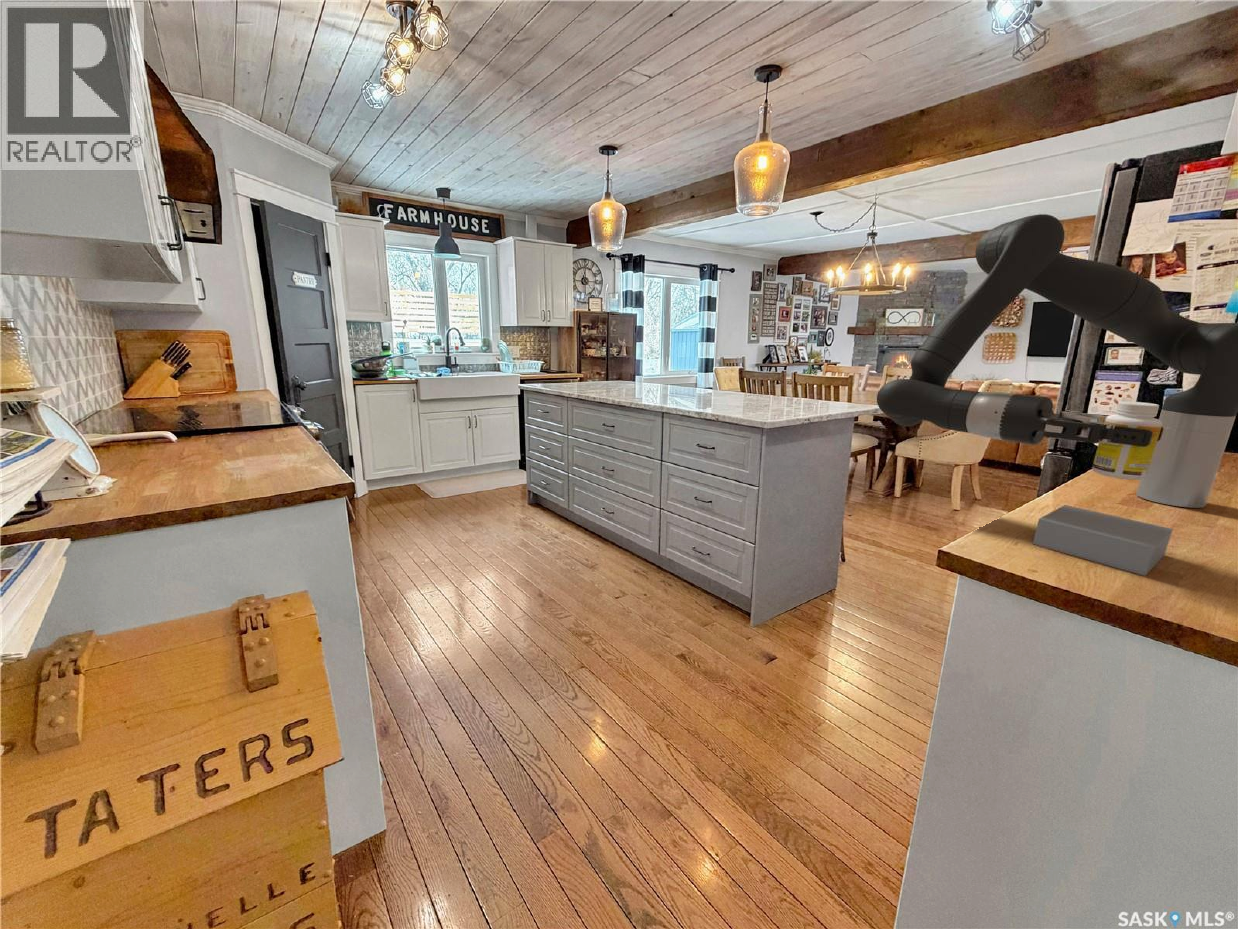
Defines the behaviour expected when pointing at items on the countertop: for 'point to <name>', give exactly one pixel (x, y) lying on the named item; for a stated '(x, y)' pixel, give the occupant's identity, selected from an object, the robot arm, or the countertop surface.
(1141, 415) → the supplement bottle
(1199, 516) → the countertop surface
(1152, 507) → the countertop surface
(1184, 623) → the countertop surface
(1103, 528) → the slate block
